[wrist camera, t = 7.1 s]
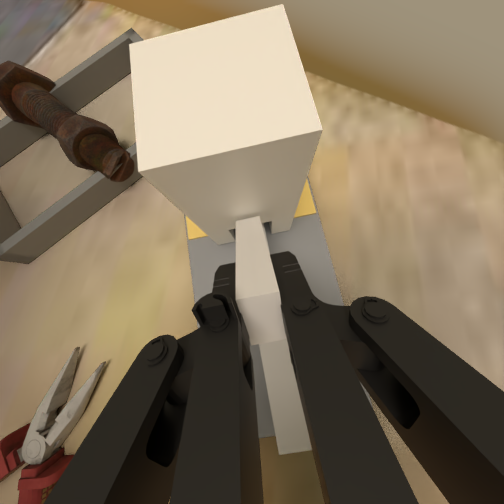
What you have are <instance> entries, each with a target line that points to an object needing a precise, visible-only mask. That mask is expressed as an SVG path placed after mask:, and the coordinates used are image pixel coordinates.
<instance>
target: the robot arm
mask: <svg viewBox="0 0 504 504" xmlns="http://www.w3.org/2000/svg"><path fill="white" fill-rule="evenodd" d="M192 312H193V314H194V316H195V317H196V319H197V321H198V323H199V325H200V327H199V328H198V329H197V330H195V331H194V332H192V333H190V334H188V335H186V336H184V337H182V338H180V339H178V340H176V339H175V338H174V336H171V335H162V336H159V337H157V338H155V339H153V340H151V341H150V342H149V343H148V344H146V345H145V347H144V348H143V349H142V350H141V351H140V353H139V354H138V356H137V357H136V359H135V361H134V362H133V364H132V365H131V367H130V368H129V370H128V372H127V373H126V375H125V376H124V378H123V379H122V381H121V383H120V384H119V386H118V387H117V389H116V390H115V392H114V394H113V395H112V397H111V398H110V400H109V401H108V403H107V405H106V406H105V408H104V409H103V411H102V412H101V414H100V416H99V417H98V419H97V420H96V422H95V423H94V425H93V427H92V428H91V430H90V431H89V433H88V434H87V436H86V438H85V439H84V441H83V442H82V444H81V445H80V447H79V449H78V450H77V452H76V453H75V455H74V456H73V458H72V460H71V461H70V463H69V464H68V466H67V467H66V469H65V471H64V472H63V474H62V475H61V477H60V478H59V480H58V482H57V483H56V485H55V486H54V488H53V489H52V491H51V493H50V494H49V496H48V497H47V499H46V500H45V502H44V504H168V502H169V499H170V503H169V504H264V501H263V487H262V474H261V461H260V448H259V434H258V421H257V408H256V394H255V381H254V368H253V359H252V355H251V352H250V343H251V345H257V344H262V343H268V342H273V341H279V340H284V339H287V342H288V346H289V352H290V358H291V364H292V365H293V370H294V374H295V378H296V382H297V387H298V391H299V395H300V400H301V404H302V408H303V412H304V417H305V421H306V425H307V429H308V434H309V438H310V442H311V446H312V451H313V455H314V459H315V464H316V468H317V472H318V476H319V481H320V485H321V489H322V493H323V498H324V502H325V504H419V503H418V501H417V499H416V497H415V495H414V493H413V491H412V489H411V487H410V485H409V483H408V481H407V479H406V476H405V474H404V472H403V470H402V468H401V466H400V464H399V462H398V460H397V458H396V456H395V454H394V452H393V450H392V447H391V445H390V443H389V441H388V439H387V437H386V435H385V433H384V431H383V429H382V427H381V425H380V423H379V421H378V418H377V416H376V414H375V412H374V410H373V408H372V406H371V404H370V402H369V400H368V398H367V396H366V394H365V392H364V390H363V387H364V388H365V389H366V391H367V392H368V393H369V395H370V396H371V397H372V399H373V400H374V402H375V403H376V404H377V406H378V407H379V408H380V410H381V411H382V412H383V414H384V415H385V416H386V418H387V419H388V421H389V422H390V423H391V425H392V426H393V427H394V429H395V430H396V431H397V433H398V434H399V435H400V437H401V438H402V440H403V441H404V442H405V444H406V445H407V446H408V448H409V449H410V450H411V452H412V453H413V455H414V456H415V457H416V459H417V460H418V461H419V463H420V464H421V465H422V467H423V468H424V469H425V471H426V472H427V474H428V475H429V476H430V478H431V479H432V480H433V482H434V483H435V484H436V486H437V487H438V488H439V490H440V491H441V493H442V494H443V495H444V497H445V498H446V499H447V501H448V502H449V503H450V504H504V392H503V391H502V390H501V389H500V388H498V387H497V386H496V385H494V384H493V383H492V382H491V381H489V380H488V379H487V378H485V377H484V376H483V375H482V374H480V373H479V372H478V371H477V370H475V369H474V368H473V367H471V366H470V365H469V364H468V363H466V362H465V361H464V360H462V359H461V358H460V357H459V356H457V355H456V354H455V353H454V352H452V351H451V350H450V349H448V348H447V347H446V346H445V345H443V344H442V343H441V342H440V341H438V340H437V339H436V338H434V337H433V336H432V335H431V334H429V333H428V332H427V331H425V330H424V329H423V328H422V327H420V326H419V325H418V324H417V323H415V322H414V321H413V320H411V319H410V318H409V317H408V316H406V315H405V314H404V313H403V312H401V311H400V310H399V309H397V308H396V307H395V306H394V305H392V304H390V303H389V302H387V301H385V300H383V299H380V298H377V297H367V296H366V297H361V298H358V299H356V300H355V301H353V302H352V304H351V306H340V305H332V304H327V303H325V302H322V301H321V300H319V299H318V298H317V297H315V296H314V294H313V293H312V291H311V289H310V287H309V285H308V282H307V280H306V278H305V276H304V274H303V272H302V270H301V267H300V265H299V263H298V261H297V258H296V256H295V255H293V254H292V253H291V252H289V251H285V252H280V253H275V254H269V250H268V246H267V243H266V239H265V235H264V231H263V227H262V224H261V220H260V216H257V217H252V218H247V219H243V220H238V221H236V262H234V263H229V264H224V265H220V266H219V267H218V269H217V270H216V272H215V276H214V282H213V289H212V293H209V294H206V295H205V296H203V297H202V298H200V299H199V300H198V301H197V302H196V303H195V305H194V307H193V309H192ZM360 382H361V383H360ZM361 384H362V385H363V387H362V385H361ZM170 496H171V498H170Z"/></svg>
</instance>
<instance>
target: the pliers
mask: <svg viewBox="0 0 504 504" xmlns="http://www.w3.org/2000/svg"><path fill="white" fill-rule="evenodd" d="M79 349H80V347H77V348H75V349H74V351H73V352H72V354H71V356H70V357H69V359H68V360H67V362H66V364H65V365H64V367H63V368H62V370H61V372H60V373H59V375H58V376H57V378H56V380H55V381H54V383H53V384H52V386H51V387H50V389H49V391H48V392H47V394H46V395H45V397H44V399H43V400H42V402H41V403H40V405H39V407H38V409H37V411H36V413H35V415H34V417H33V420H32V422H31V423H30V424H27V425H25V426H24V427H22V428H20V429H18V430H16V431H14V432H13V433H11V434H9V435H7V436H6V437H5V438H3V439H2V440H1V441H0V482H1V481H3V480H4V479H5V478H6V477H8V476H9V475H10V474H12V473H13V472H14V471H15V470H17V469H18V468H19V467H20V466H22V465H23V464H24V463H28V464H29V465H27V466H26V467H24V468H23V469H22V471H21V478H20V479H19V482H18V490H20V491H19V500H18V504H44V502H45V500H46V499H47V497H48V496H49V494H50V493H51V491H52V489H53V488H54V486H55V485H56V483H57V482H58V480H59V478H60V477H61V475H62V474H63V472H64V471H65V469H66V467H67V466H68V464H69V463H70V461H71V460H72V458H73V456H74V455H64V448H58V447H60V446H61V445H62V443H63V442H64V441H65V439H66V438H67V436H68V435H69V433H70V432H71V431H72V429H73V428H74V427H75V425H76V424H77V422H78V421H79V419H80V417H81V416H82V414H83V412H84V410H85V408H86V406H87V403H88V401H89V399H90V397H91V394H92V392H93V390H94V388H95V386H96V383H97V381H98V379H99V377H100V375H101V372H102V370H103V368H104V366H105V363H106V361H105V362H103V363H101V365H100V366H99V367H98V368H97V369H96V370H95V372H94V373H93V374H92V375H91V376H90V378H89V379H88V380H87V381H86V382H85V384H84V385H83V386H82V387H81V388H80V389H79V391H78V392H77V393H76V394H75V395H74V397H73V398H72V399H71V400H70V401H69V402H68V404H67V405H66V406H65V407H64V409H63V410H62V411H61V413H60V414H59V415H58V417H57V408H58V407H60V406H62V405H64V404H65V403H66V402H67V399H68V396H69V393H70V390H71V387H72V382H73V377H74V373H75V368H76V363H77V358H78V354H79ZM22 461H23V462H22Z"/></svg>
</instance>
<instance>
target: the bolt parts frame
mask: <svg viewBox="0 0 504 504" xmlns="http://www.w3.org/2000/svg"><path fill="white" fill-rule="evenodd" d="M140 41H143V39H142V38H141V37H140V36H139V35H138V34H137V33H136V32H135V31H134V30H133V29H132V28H131V29H129V30H128V31H126V32H125V33H124V34H122V35H121V36H119V37H118V38H116V39H115V40H114V41H112V42H111V43H109V44H108V45H107V46H105V47H104V48H102V49H101V50H99V51H98V52H97V53H95V54H94V55H92V56H91V57H90V58H88V59H87V60H85V61H84V62H82V63H81V64H80V65H78V66H77V67H75V68H74V69H73V70H71V71H70V72H68V73H67V74H65V75H64V76H63V77H61V78H60V79H58V80H57V81H56V82H54V83H55V85H56V86H55V87H54V88H53V89H52V90H51V91H50V92H49V93H51V94H52V95H53V96H54V97H56V98H57V99H58V100H59V101H60V102H61V103H62V104H64V105H65V106H66V107H68V108H69V109H70V110H72V111H73V112H77V111H78V110H79V109H81V108H82V107H83V106H85V105H86V104H88V103H89V102H90V101H92V100H93V99H95V98H96V97H97V96H99V95H100V94H101V93H103V92H104V91H106V90H107V89H108V88H110V87H111V86H113V85H114V84H115V83H117V82H118V81H119V80H121V79H122V78H124V77H125V76H126V75H128V74H129V73H131V63H130V49H129V44H132V43H136V42H140ZM46 133H48V131H46V130H45V129H42V128H38V127H34V126H30V125H26V124H22V123H18V122H14V121H13V120H12V119H11V118H9V117H8V116H6V117H5V118H3V119H2V120H0V167H1V166H2V165H3V164H5V163H6V162H7V161H9V160H10V159H12V158H13V157H14V156H16V155H17V154H19V153H20V152H21V151H23V150H24V149H25V148H27V147H28V146H30V145H31V144H32V143H34V142H35V141H36V140H38V139H39V138H41V137H42V136H43V135H45V134H46ZM126 151H128V152H129V153H130V158H131V159H133V161H134V172H133V174H132V175H131V176H130V177H129V178H128V179H127V180H125V181H123V182H113V181H110V178H109V179H107V178H106V177H105V176H104V175H103V174H101V172H99V171H97V172H96V173H95V174H93V175H92V176H91V177H89V178H88V179H87V180H85V181H84V182H83V183H81V184H80V185H79V186H77V187H76V188H75V189H73V190H72V191H71V192H69V193H68V194H67V195H65V196H64V197H63V198H61V199H60V200H59V201H57V202H56V203H55V204H53V205H52V206H51V207H49V208H48V209H47V210H45V211H44V212H43V213H41V214H40V215H39V216H37V217H36V218H35V219H33V220H32V221H31V222H29V223H28V224H27V225H25V226H24V227H23V228H20V226H19V224H18V222H17V221H16V219H15V217H14V215H13V213H12V211H11V210H10V208H9V206H8V204H7V202H6V200H5V199H4V197H3V195H2V193H1V191H0V261H8V262H17V263H25V264H29V263H30V262H31V261H33V260H34V259H35V258H37V257H38V256H39V255H41V254H42V253H43V252H45V251H46V250H47V249H48V248H50V247H51V246H52V245H54V244H55V243H56V242H58V241H59V240H60V239H61V238H63V237H64V236H65V235H67V234H68V233H69V232H71V231H72V230H73V229H74V228H76V227H77V226H78V225H80V224H81V223H82V222H84V221H85V220H86V219H87V218H89V217H90V216H91V215H93V214H94V213H95V212H97V211H98V210H99V209H101V208H102V207H103V206H104V205H106V204H107V203H108V202H110V201H111V200H112V199H114V198H115V197H116V196H117V195H119V194H120V193H121V192H123V191H124V190H125V189H127V188H128V187H129V186H130V185H132V184H133V183H134V182H136V181H137V180H138V179H140V178H141V177H142V175H141V174H140V173H139V172H138V161H137V147H136V143H134V144H133V145H132V146H130V147H129V148H128V149H126ZM122 164H123V163H122ZM122 164H120V165H118V166H116V168H115V170H114V172H113V174H114V173H115V172H116V170H117V169H118V168H119V167H120V166H121V165H122ZM113 174H112V175H113Z"/></svg>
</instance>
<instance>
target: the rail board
mask: <svg viewBox="0 0 504 504" xmlns="http://www.w3.org/2000/svg"><path fill="white" fill-rule="evenodd" d="M184 218H185V226H186V234H187V242H188V251H189V259H190V267H191V275H192V284H193V292H194V300H195V303H196V302H197V301H198V300H199V299H200V298H202V297H203V296H205V295H206V294H209V293H212V289H213V282H214V276H215V272H216V270H217V269H218V267H219V266H220V265H224V264H229V263H234V262H236V241H235V242H230V243H225V244H220V245H218V244H216V243H215V242H214V241H213V240H212V239H211V238H210V237H209V236H208V235H207V234H206V233H204V232H203V231H202V230H201V229H200V228H199V227H198V226H197V225H196V224H195V223H194V222H192V221H191V220H190V219H189V218H188V217H187V216H186V215H185V214H184ZM261 224H262V227H263V231H264V235H265V239H266V243H267V246H268V250H269V254H275V253H280V252H285V251H289V252H291V253H292V254H293V255H295V256H296V258H297V261H298V263H299V265H300V267H301V270H302V272H303V274H304V276H305V278H306V280H307V282H308V285H309V287H310V289H311V291H312V293H313V294H314V296H315V297H317V298H318V299H319V300H321V301H322V302H325V303H327V304H332V305H340V306H344V303H343V300H342V296H341V293H340V289H339V286H338V282H337V278H336V275H335V271H334V268H333V264H332V261H331V257H330V253H329V250H328V246H327V243H326V239H325V236H324V232H323V228H322V225H321V221H320V218H319V214H318V211H317V207H316V203H315V200H314V196H313V193H312V189H311V186H310V182H309V178H308V176H307V179H306V182H305V185H304V188H303V191H302V194H301V197H300V200H299V203H298V206H297V209H296V212H295V215H294V218H293V222H292V225H291V228H290V230H288V231H283V232H278V233H274V234H271V229H270V225H269V222H265V223H261ZM234 234H235V240H236V229H234ZM197 325H198V328H199V327H200V325H199V323H198V321H197ZM250 352H251V355H252V359H253V368H254V381H255V394H256V408H257V421H258V434H259V438H265V437H271V436H276V441H277V446H278V452H279V455H283V454H289V453H296V452H302V451H309V450H312V448H311V444H310V439H309V434H308V429H307V425H306V421H305V417H304V412H303V408H302V404H301V400H300V395H299V391H298V387H297V382H296V378H295V374H294V370H293V365H292V364H291V358H290V352H289V346H288V342H287V339H284V340H279V341H273V342H268V343H262V344H257V345H251V343H250ZM360 383H361V382H360ZM361 385H362V384H361ZM362 387H363V385H362ZM363 390H364V392H365V394H366V396H367V398H368V400H369V402H370V404H371V406H372V403H371V400H370V396H369V393H368V392H367V391H366V389H365V388H364V387H363ZM372 408H373V407H372Z"/></svg>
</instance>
